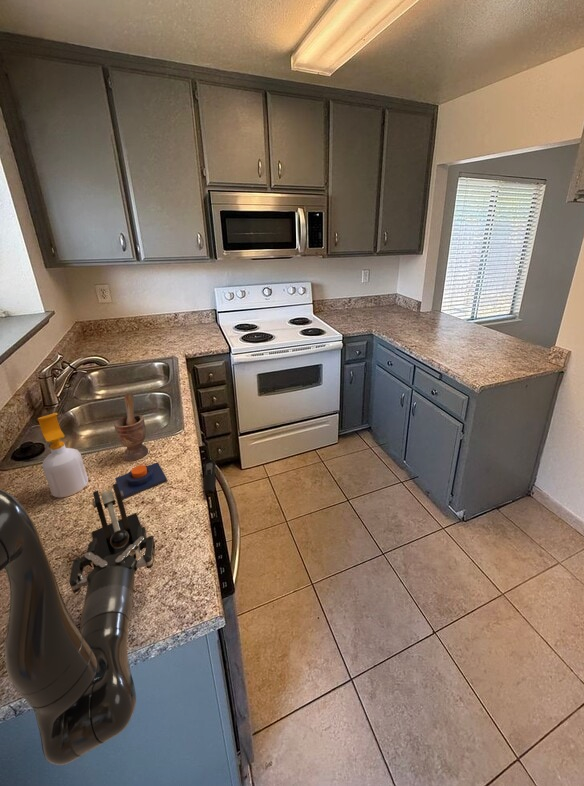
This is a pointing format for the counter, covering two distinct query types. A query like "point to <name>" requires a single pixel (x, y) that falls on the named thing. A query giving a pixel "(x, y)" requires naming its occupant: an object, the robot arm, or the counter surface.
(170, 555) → the counter surface
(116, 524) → the switch lever
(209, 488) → the electric trimmer
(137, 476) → the button
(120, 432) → the mortar and pestle
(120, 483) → the control block
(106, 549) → the switch bracket
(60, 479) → the soap bottle
